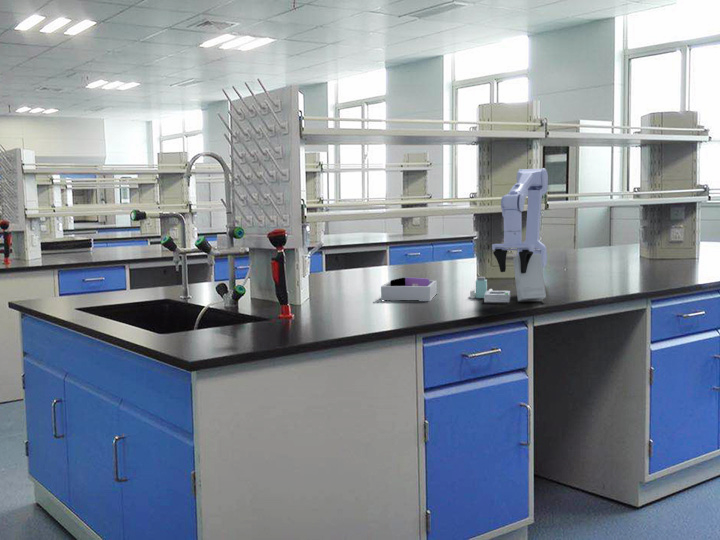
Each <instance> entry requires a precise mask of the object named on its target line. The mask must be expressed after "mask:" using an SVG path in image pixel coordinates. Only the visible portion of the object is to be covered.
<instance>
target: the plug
mask: <svg viewBox="0 0 720 540" xmlns="http://www.w3.org/2000/svg"><path fill="white" fill-rule="evenodd" d="M486 291H488V279H486V277H485V276H477V279H476V280H475V293H476V296H475V299H484V294H485V292H486Z"/></svg>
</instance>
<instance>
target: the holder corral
mask: <svg viewBox="0 0 720 540" xmlns="http://www.w3.org/2000/svg"><path fill="white" fill-rule="evenodd" d="M390 281H391V280H389V281H388V282H386V283H384V284H383V285H381V286H380V296H381V297H380V299H381V300H419V301H418V302H431V301H433V299H434V298H435V297H436V296H437V295H438V284H437V283H438V281H437V280H429V285H428V286H417V285H415V286H390ZM436 294H437V295H436ZM435 295H436V296H435ZM434 296H435V297H434ZM433 297H434V298H433ZM432 298H433V299H432Z"/></svg>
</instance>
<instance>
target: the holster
mask: <svg viewBox="0 0 720 540" xmlns="http://www.w3.org/2000/svg"><path fill="white" fill-rule="evenodd" d="M488 291H494V290H493V288H489V289H488ZM474 297H476V288H471V289H470V292H469V298H470V299H474Z"/></svg>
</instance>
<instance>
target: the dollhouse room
mask: <svg viewBox="0 0 720 540" xmlns="http://www.w3.org/2000/svg"><path fill="white" fill-rule="evenodd" d="M389 281H390V286H415V285H417V286H428V285H429V281H430V279H429V278H423V277H420V278H419V277H399V278H396V279H391V280H389Z"/></svg>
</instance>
